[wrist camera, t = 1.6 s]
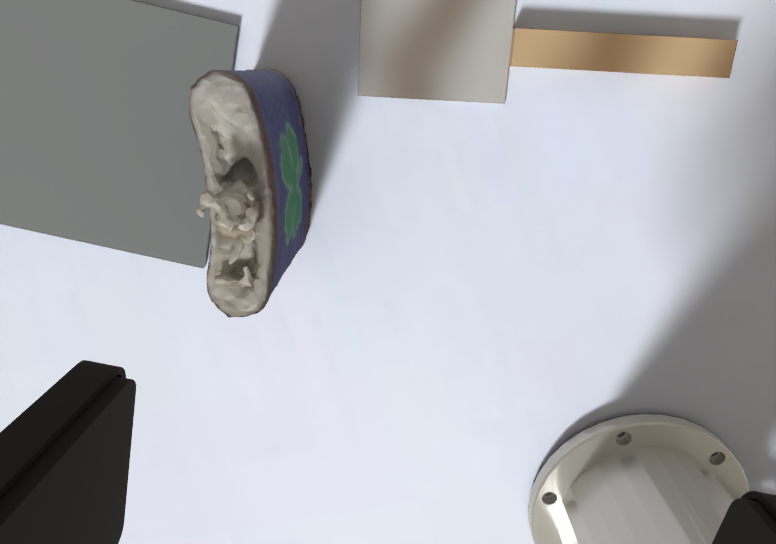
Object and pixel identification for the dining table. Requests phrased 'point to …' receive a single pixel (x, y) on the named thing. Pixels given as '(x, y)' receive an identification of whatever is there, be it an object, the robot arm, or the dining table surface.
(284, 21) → the dining table surface
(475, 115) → the dining table surface
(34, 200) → the slate board
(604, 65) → the turner
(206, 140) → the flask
